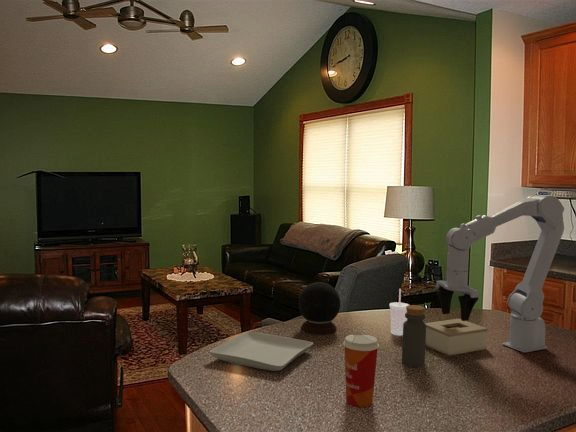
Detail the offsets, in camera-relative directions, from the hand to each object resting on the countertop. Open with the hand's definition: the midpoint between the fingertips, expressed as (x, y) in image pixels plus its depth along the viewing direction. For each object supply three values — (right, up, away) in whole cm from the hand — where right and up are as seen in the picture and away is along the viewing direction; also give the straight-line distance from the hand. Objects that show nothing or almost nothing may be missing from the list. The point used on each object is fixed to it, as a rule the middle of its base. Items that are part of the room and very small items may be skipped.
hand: (455, 317), depth 153 cm
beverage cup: (-14, -8, +12) cm, 20 cm away
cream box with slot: (0, -9, +1) cm, 9 cm away
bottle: (-15, -10, -14) cm, 23 cm away
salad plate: (-55, -9, -11) cm, 56 cm away
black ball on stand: (-38, -7, +15) cm, 42 cm away
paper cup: (-32, -11, -38) cm, 51 cm away
